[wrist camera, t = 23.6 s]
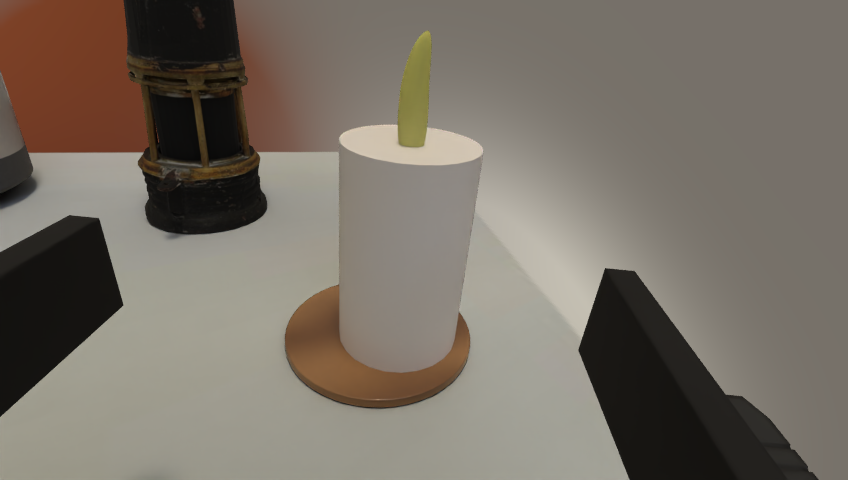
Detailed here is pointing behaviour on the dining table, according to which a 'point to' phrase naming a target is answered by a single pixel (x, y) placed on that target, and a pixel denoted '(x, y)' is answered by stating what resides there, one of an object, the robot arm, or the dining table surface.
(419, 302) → the candle
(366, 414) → the dining table surface
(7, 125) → the planter
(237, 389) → the dining table surface
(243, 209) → the lantern
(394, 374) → the coaster
